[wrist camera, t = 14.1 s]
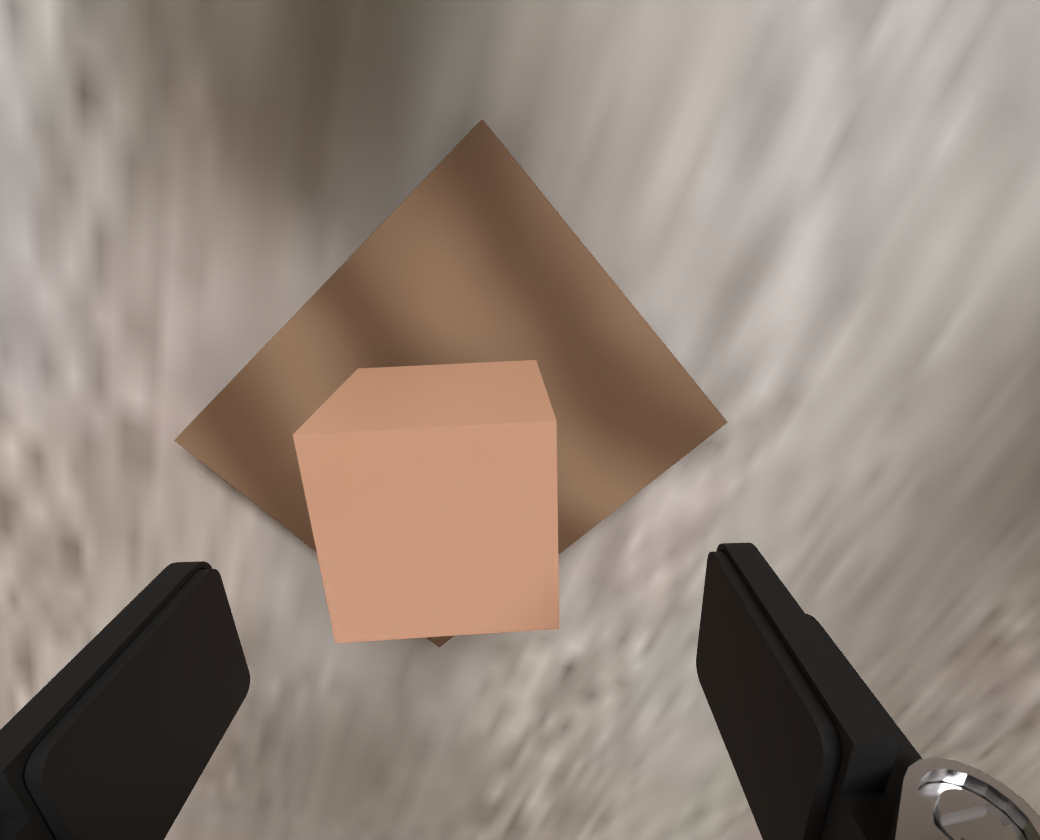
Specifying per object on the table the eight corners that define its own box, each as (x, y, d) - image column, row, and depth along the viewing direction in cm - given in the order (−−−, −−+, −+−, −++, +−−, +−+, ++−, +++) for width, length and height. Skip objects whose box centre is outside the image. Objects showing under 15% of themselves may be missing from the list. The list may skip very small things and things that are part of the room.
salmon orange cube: (358, 368, 17) (292, 435, 12) (536, 359, 17) (556, 421, 12) (381, 523, 19) (335, 643, 14) (540, 514, 20) (559, 628, 14)
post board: (482, 128, 18) (475, 51, 10) (712, 409, 22) (828, 504, 14) (195, 426, 21) (27, 536, 13) (442, 623, 25) (420, 794, 17)
